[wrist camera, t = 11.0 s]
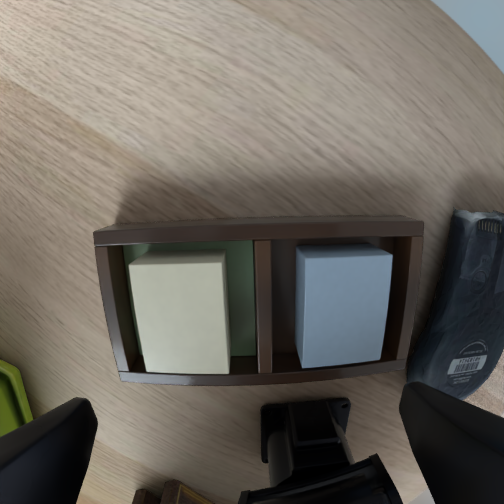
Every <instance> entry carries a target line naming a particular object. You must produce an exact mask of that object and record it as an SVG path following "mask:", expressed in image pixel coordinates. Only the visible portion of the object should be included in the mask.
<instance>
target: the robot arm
mask: <svg viewBox="0 0 504 504" xmlns="http://www.w3.org/2000/svg"><path fill="white" fill-rule="evenodd" d="M344 403H346V404H345V405H342V404H344ZM350 407H351V402H350V400H349V399H348V398H336V399H328V400H319V401H309V402H297V403H284V404H267V405H264V406H262V407H261V409H260V415H261V459H262V462H263V463H269V476H270V487H269V488H265V489H260V490H254V491H250V490H248V491H242V492H241V494H240V498H239V501H238V504H403V502H402V500H401V497H400V495H399V493H398V491H397V489H396V487H395V485H394V483H393V481H392V479H391V478H390V476H389V474H388V472H387V470H386V469H385V467H384V465H383V463H382V461H381V460H380V458H379V456H378V454H377V453H376V454H374V455H371V456H369V458H367V459H365V460H362V461H359V462H357V463H355V462H354V459H353V456H352V454H351V451H350V448H349V445H348V442H347V440H346V437H345V432H346V428H347V423H348V418H349V413H350ZM265 411H270V412H265ZM399 412H400V415H401V418H402V421H403V424H404V427H405V430H406V433H407V436H408V439H409V443H410V446H411V449H412V452H413V454H414V456H415V459H416V461H417V463H418V465H419V468H420V470H421V472H422V474H423V477H424V479H425V481H426V483H427V486H428V488H429V490H430V492H431V495H432V497H433V499H434V502H435V504H504V418H503V417H500V416H498V415H495V414H493V413H491V412H488V411H486V410H483V409H481V408H479V407H476V406H474V405H472V404H469V403H467V402H465V401H462V400H460V399H458V398H455V397H453V396H451V395H449V394H446V393H444V392H442V391H440V390H437V389H435V388H433V387H431V386H428V385H426V384H424V383H422V382H419V381H415V382H411V383H407V384H405V386H404V388H403V392H402V396H401V400H400V404H399ZM97 427H98V421H97V418H96V415H95V413H94V410H93V408H92V405H91V403H90V401H89V400H88V399H86V398H79V397H75V398H73V399H71V400H70V401H68V402H66V403H64V404H62V405H60V406H58V407H57V408H55V409H53V410H51V411H49V412H47V413H45V414H44V415H42V416H40V417H38V418H36V419H34V420H32V421H30V422H28V423H26V424H24V425H23V426H21V427H19V428H17V429H15V430H13V431H11V432H9V433H7V434H5V435H3V436H1V437H0V504H76V502H77V499H78V496H79V492H80V489H81V486H82V483H83V480H84V478H85V475H86V472H87V468H88V465H89V461H90V457H91V453H92V448H93V444H94V440H95V435H96V431H97Z"/></svg>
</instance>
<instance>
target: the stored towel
mask: <svg viewBox="0 0 504 504" xmlns="http://www.w3.org/2000/svg"><path fill="white" fill-rule="evenodd" d="M392 257H393V256H392V254H390V253H388V252H386V251H384V250H382V249H380V248H378V247H377V246H375V245H373V244H371V243H368V244H334V245H301V246H296V295H295V345H296V349H297V352H298V356H299V359H300V362H301V366H302V368H311V367H322V366H332V365H342V364H350V363H359V362H366V361H373V360H380V357H381V351H382V345H383V338H384V332H385V325H386V317H387V309H388V301H389V291H390V281H391V270H392Z"/></svg>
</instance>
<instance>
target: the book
mask: <svg viewBox="0 0 504 504" xmlns="http://www.w3.org/2000/svg"><path fill="white" fill-rule="evenodd" d="M132 504H215V503H213V502H211V501H209V500H208V499H206V498H205V497H203V496H201V495H200V494H198V493H197V492H195V491H193V490H192V489H190V488H189V487H187V486H186V485H184V484H183V483H181V482H180V481H178V480H171V481H168V482H165V486H164V490H163V495H162V499H160V498H159V497H157V496H155V495H154V494H152V493H151V492H149V491H148V490H146V489H141V490H137V491H136V492H135V496H134V499H133V502H132Z"/></svg>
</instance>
